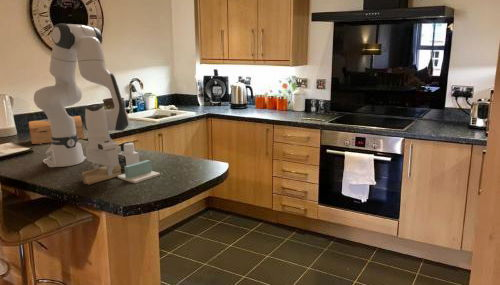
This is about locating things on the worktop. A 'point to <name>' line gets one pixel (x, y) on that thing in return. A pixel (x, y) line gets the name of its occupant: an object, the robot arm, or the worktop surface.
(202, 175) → the worktop surface
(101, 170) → the batten
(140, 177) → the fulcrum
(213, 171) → the worktop surface
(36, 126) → the wooden box
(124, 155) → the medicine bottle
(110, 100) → the plant pot
